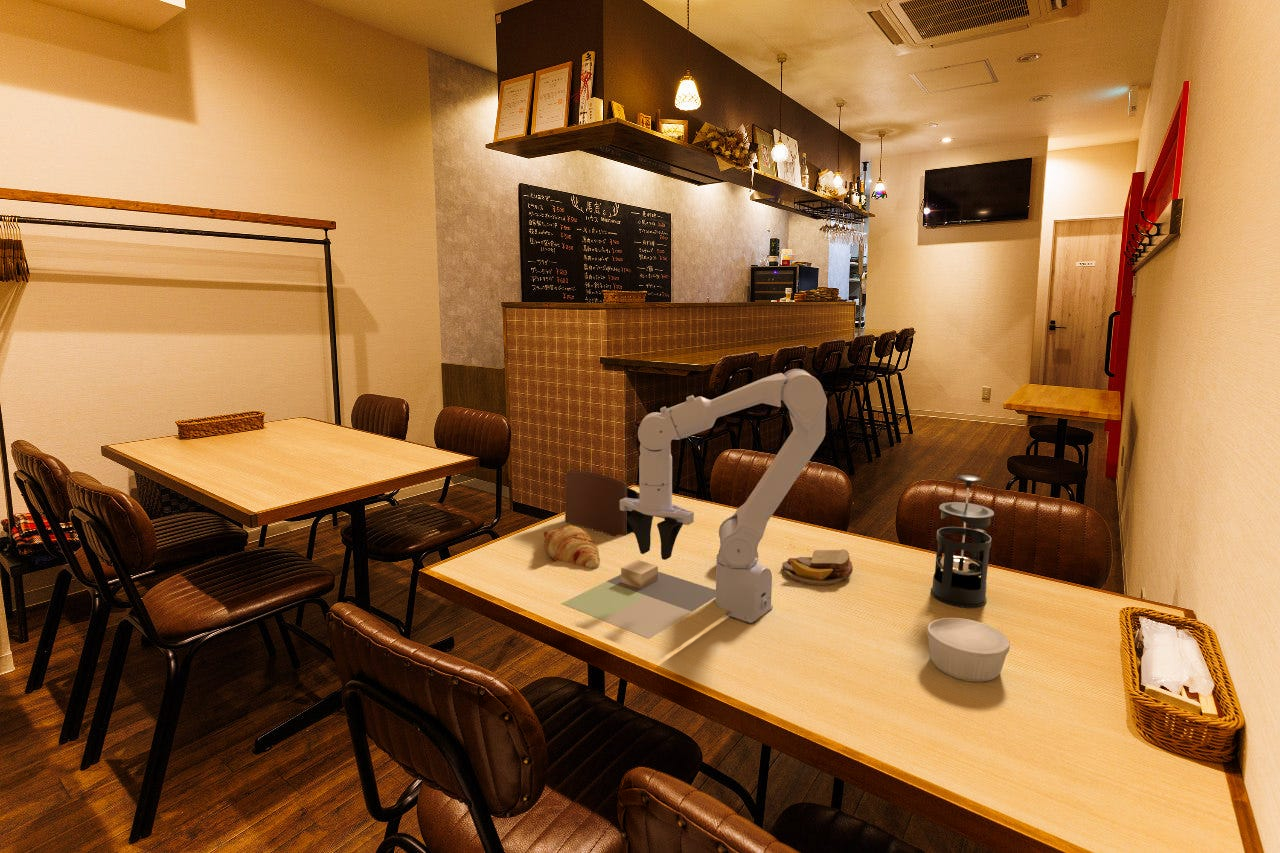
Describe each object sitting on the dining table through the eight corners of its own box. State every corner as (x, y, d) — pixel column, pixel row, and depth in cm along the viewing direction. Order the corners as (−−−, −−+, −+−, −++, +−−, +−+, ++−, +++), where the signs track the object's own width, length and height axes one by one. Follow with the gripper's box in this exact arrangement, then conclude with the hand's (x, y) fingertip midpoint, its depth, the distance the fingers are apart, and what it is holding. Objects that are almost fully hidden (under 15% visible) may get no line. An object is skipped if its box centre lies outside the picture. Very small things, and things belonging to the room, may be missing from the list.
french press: (966, 614, 118) (979, 487, 113) (918, 594, 125) (927, 475, 121) (1001, 596, 124) (1014, 476, 120) (953, 579, 132) (963, 466, 127)
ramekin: (936, 639, 109) (939, 609, 108) (1013, 663, 102) (1017, 631, 101) (914, 669, 101) (917, 636, 100) (996, 696, 94) (1000, 662, 93)
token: (657, 580, 129) (657, 566, 129) (641, 589, 126) (641, 574, 125) (637, 574, 133) (637, 559, 132) (621, 582, 129) (621, 567, 128)
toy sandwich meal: (792, 558, 144) (793, 537, 143) (857, 570, 137) (858, 548, 136) (774, 579, 133) (774, 557, 132) (843, 594, 126) (845, 570, 125)
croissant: (609, 585, 138) (624, 549, 139) (571, 575, 132) (587, 537, 133) (556, 552, 155) (570, 520, 155) (521, 542, 148) (535, 508, 149)
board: (722, 597, 125) (722, 592, 124) (649, 644, 108) (649, 638, 108) (639, 570, 137) (639, 565, 137) (561, 608, 120) (561, 603, 120)
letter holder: (625, 540, 154) (624, 481, 151) (564, 522, 166) (563, 467, 164) (652, 529, 162) (652, 472, 159) (592, 512, 174) (591, 459, 171)
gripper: (703, 482, 117) (702, 556, 119) (635, 470, 125) (635, 540, 127) (681, 492, 111) (680, 569, 114) (612, 479, 119) (613, 551, 122)
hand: (655, 555), depth 120 cm, fingers open, 4 cm apart
